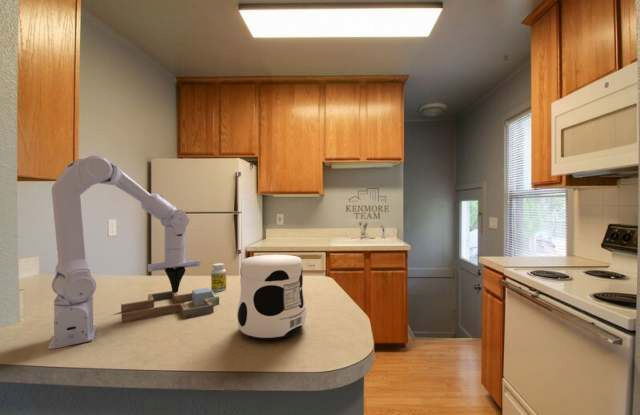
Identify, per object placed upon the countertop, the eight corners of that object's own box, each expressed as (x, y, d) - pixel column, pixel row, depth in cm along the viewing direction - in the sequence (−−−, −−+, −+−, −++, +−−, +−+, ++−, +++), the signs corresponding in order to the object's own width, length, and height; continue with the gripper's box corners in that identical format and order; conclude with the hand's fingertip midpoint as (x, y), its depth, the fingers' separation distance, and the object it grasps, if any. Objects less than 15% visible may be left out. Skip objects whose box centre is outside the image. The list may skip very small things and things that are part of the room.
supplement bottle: (227, 287, 113) (226, 262, 113) (225, 291, 108) (225, 265, 108) (212, 288, 112) (212, 263, 112) (210, 292, 107) (210, 265, 107)
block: (212, 303, 95) (212, 291, 95) (195, 306, 92) (195, 293, 92) (208, 299, 99) (208, 287, 99) (192, 302, 97) (192, 290, 96)
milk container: (248, 316, 84) (247, 253, 83) (308, 317, 83) (308, 254, 83) (226, 346, 66) (226, 266, 66) (303, 347, 66) (302, 267, 66)
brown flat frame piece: (225, 310, 89) (225, 302, 89) (121, 331, 74) (121, 322, 74) (206, 291, 108) (206, 285, 108) (120, 305, 93) (120, 298, 93)
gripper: (196, 245, 99) (196, 285, 99) (146, 248, 90) (146, 292, 90) (201, 247, 93) (201, 290, 93) (149, 251, 85) (148, 298, 85)
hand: (174, 291), depth 91 cm, fingers closed
